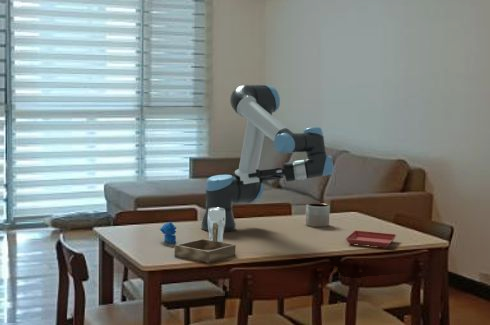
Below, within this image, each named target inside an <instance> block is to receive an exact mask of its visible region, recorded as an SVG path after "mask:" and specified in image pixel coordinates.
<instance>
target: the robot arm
mask: <svg viewBox="0 0 490 325" xmlns="http://www.w3.org/2000/svg"><path fill="white" fill-rule="evenodd" d="M229 103H230V106H231V107H232V109H233V111H234V112H235V113H236V114H237V115H239V116H240V117H243V118H246V119H247V120H246V126H245V133H244V137H243V141H242V142H243V143H242V148H241V149H242V150H241V153H240V160H239V166H238V169H235V171H234V174H233V175H231V174H217V175H212V176H210V177H208V178H207V179H206V185H205V213H204V215H203V218H202V221H201V227H200V228H201V230H204V231H207V232H209V229H208V209H209V208H214V207H217V208H224V209H225V227H224V232H223V233H225V232H232V231H235V230H236V226H237V224H236V223H237V222H235V217H234V214H233V213H234V212H233V204H234V205H235V204H236V205H238V204H250V203H254V202H257V201H258V200H260V199H261V197H262V195H263V193H264V185H263V184H264V182H268V181H271V180H272V181H273V180H280V179H283V178H284V177H285V178H284V179H285V181H286V182H293V181H296V180H297V181H298V180H301V181H303V182H304V181H305V179H312V178H317V177H324V176H325V177H326V176H329V175H333V174H334V172H335V168H334V167H335V166H334V162H333V157H332V155H327V152H326V145H325V139H324V138H325V137H324V133H323V130H322V128H321V127H319V126H313V127H308V128H305V129H303V132H301V133H300V132H298V133H297V132H296V133H295V132H293V131H292V130H290V129H289V128H288V127H286V126H285V125H284V124H283V123H282V122H280V121H279V120H278V119H277V118H276V117H275V116H273V113H276V112H277V110H279V108H280V104H281V99H280V94H279V92H278V90H277V89H276V88H275V87H274V86H273V85H266V84H241V85H238V86H237V87H235V88H234V89H233V91H232V92H231V95H230V98H229ZM265 136H267V137H268V138H269V139H270V140H271V141H273V147H274V148H275V150H276V152H278V153H280V154H291V153H292V154H296V153H306V157H307V159H300V160H294V161H293V162H292V161H289V162H283V168H282V167H276V168H270V169H259V166H260V161H261V157H262V156H261V155H262V151H263V145H264V141H265Z"/></svg>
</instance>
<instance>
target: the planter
mask: <svg viewBox="0 0 490 325" xmlns="http://www.w3.org/2000/svg"><path fill="white" fill-rule="evenodd" d="M305 206H306V208H305V225H306V226H307V225H308V227H311V226H314V227H313V228H327V227H329V225H330V214H331V213H330V212H331V211H330V210H331V208H330V206H331V205H330V204H328V203H324V202H323V203H321V202H310V203H306V205H305ZM326 226H327V227H326Z"/></svg>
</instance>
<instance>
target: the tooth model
mask: <svg viewBox="0 0 490 325" xmlns="http://www.w3.org/2000/svg"><path fill="white" fill-rule="evenodd" d="M224 227H225V209H224V208H217V207H214V208H209V209H208V229H209V231H208V235H209V238H208V240H212V241H217V242H223V243H224V233H225V232H224Z"/></svg>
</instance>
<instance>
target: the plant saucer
mask: <svg viewBox="0 0 490 325" xmlns="http://www.w3.org/2000/svg"><path fill="white" fill-rule="evenodd" d="M396 237H397V234H395V233H387V232H385V233H384V232H376V231H374V232H373V231H365V230H354V231H352V232H351V233H350V234H349V235H348V236H347V237H345V240H346V242H348V244H349V245H350V244H358V245H369V246H377V247H383V248H382V249H387V248H388V247H389V246H390V245H391V243H392V242H393V241H394V240H395V238H396ZM377 247H376V248H377Z"/></svg>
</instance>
